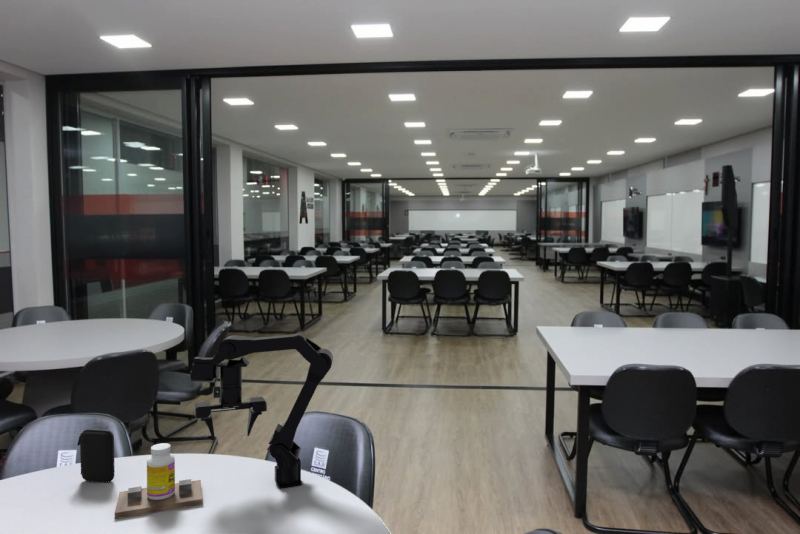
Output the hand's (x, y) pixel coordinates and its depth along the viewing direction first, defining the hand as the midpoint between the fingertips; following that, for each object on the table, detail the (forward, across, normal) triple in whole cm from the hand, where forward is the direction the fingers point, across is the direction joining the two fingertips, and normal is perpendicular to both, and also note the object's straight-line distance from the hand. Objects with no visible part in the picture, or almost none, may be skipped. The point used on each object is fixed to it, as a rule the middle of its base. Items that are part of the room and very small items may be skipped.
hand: (230, 437), depth 151 cm
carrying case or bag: (+14, +35, -15) cm, 40 cm away
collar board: (+13, +18, +4) cm, 23 cm away
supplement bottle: (+12, +18, +4) cm, 22 cm away
